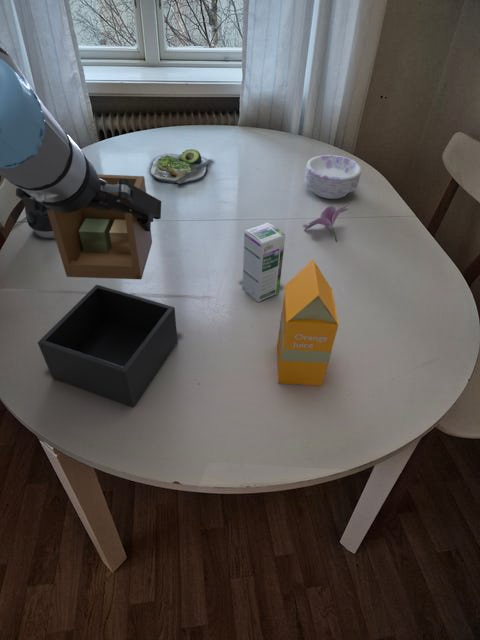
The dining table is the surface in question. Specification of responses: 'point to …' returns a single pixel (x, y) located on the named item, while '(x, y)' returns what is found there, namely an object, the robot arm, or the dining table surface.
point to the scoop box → (111, 263)
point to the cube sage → (95, 235)
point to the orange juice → (306, 328)
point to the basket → (111, 344)
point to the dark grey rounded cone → (40, 225)
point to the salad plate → (180, 167)
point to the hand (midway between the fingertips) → (110, 221)
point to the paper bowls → (332, 176)
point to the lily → (328, 217)
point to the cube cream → (119, 237)
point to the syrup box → (262, 261)
